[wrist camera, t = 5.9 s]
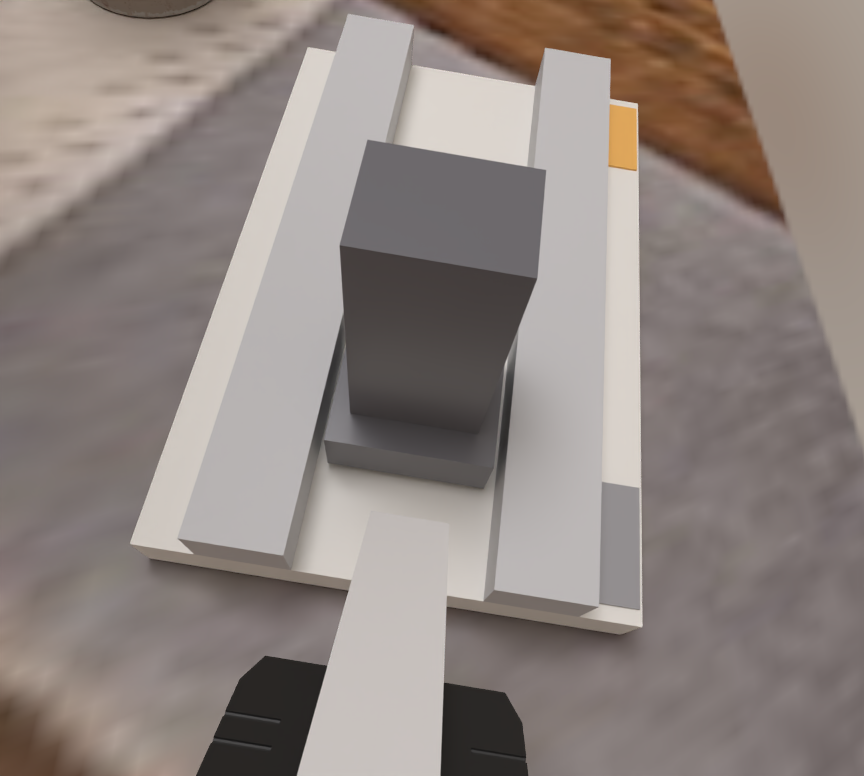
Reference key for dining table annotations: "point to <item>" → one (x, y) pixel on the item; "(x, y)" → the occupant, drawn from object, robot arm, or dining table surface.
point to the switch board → (325, 346)
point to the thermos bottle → (150, 7)
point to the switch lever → (431, 310)
